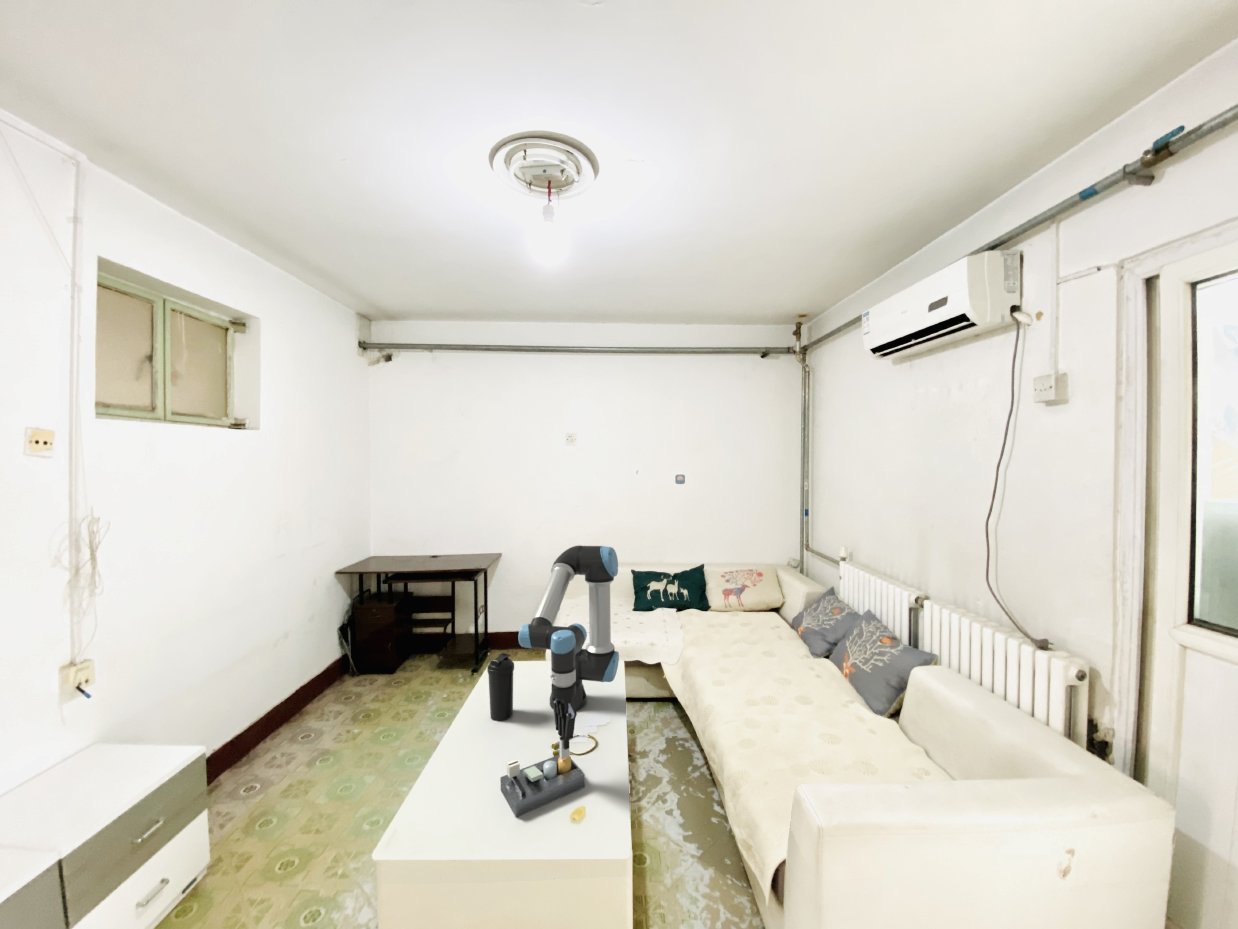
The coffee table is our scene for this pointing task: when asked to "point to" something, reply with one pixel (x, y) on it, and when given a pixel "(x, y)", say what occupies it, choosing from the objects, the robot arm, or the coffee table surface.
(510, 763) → the fader knob
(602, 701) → the coffee table surface
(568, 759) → the amber button
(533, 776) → the panel
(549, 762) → the blue-grey button
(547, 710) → the coffee table surface
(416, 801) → the coffee table surface
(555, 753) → the extension cord
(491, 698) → the water bottle
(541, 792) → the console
